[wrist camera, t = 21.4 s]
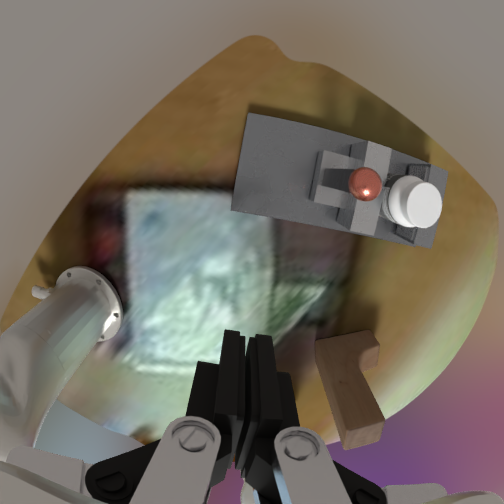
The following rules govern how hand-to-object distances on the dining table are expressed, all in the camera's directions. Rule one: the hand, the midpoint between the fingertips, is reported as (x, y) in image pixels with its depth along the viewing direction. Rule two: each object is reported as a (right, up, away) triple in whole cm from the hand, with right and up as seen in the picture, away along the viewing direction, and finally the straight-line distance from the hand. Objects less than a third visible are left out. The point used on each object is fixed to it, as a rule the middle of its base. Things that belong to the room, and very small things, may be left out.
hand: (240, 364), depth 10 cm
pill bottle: (+17, +11, +24) cm, 32 cm away
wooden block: (+14, -10, +32) cm, 36 cm away
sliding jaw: (+11, +13, +23) cm, 29 cm away
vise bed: (+12, +13, +25) cm, 30 cm away
